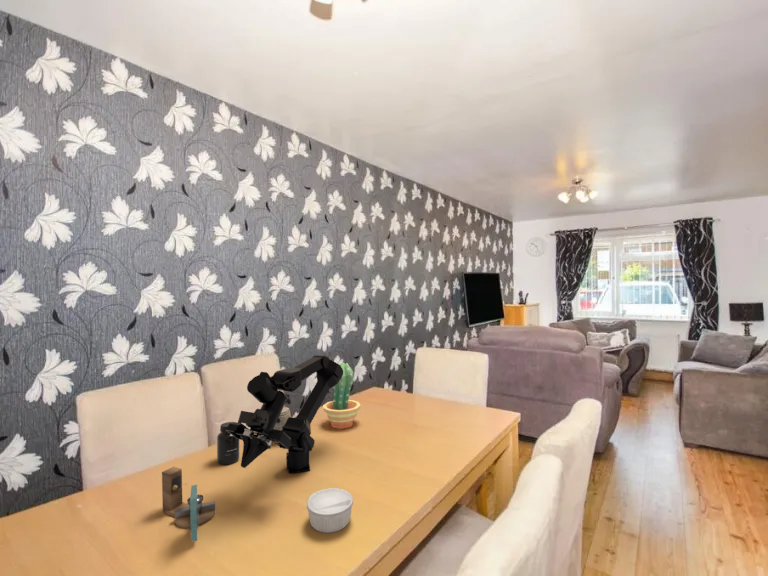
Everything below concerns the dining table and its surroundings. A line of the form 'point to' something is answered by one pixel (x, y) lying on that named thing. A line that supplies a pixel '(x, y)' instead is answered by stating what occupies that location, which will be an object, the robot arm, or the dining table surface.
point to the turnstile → (194, 510)
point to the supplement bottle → (227, 446)
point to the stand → (179, 499)
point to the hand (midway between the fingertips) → (242, 467)
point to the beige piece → (282, 419)
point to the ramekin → (330, 509)
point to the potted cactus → (342, 401)
